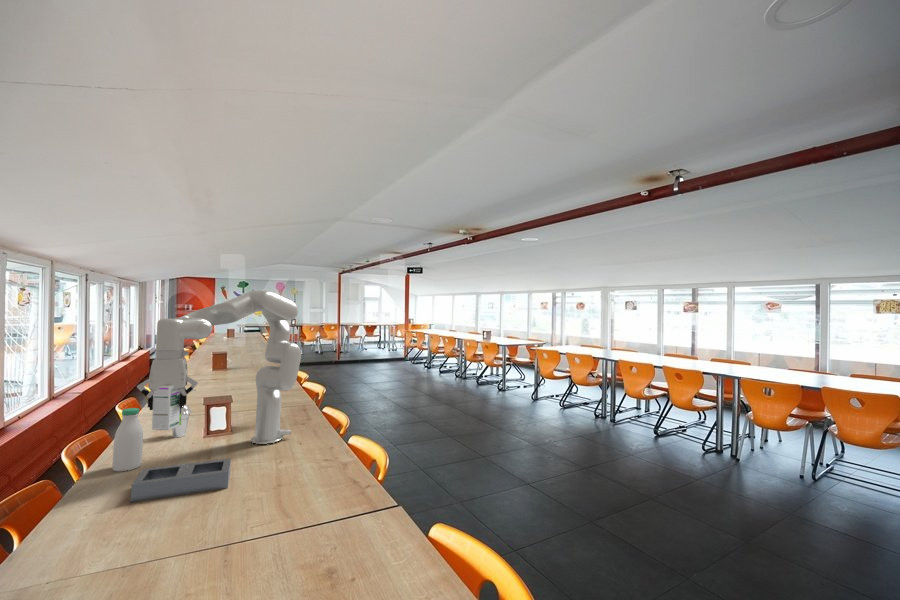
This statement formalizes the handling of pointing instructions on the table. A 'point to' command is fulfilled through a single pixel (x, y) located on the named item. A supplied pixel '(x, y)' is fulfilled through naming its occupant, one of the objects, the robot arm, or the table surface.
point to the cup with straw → (182, 422)
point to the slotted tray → (180, 479)
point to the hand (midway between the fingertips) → (167, 407)
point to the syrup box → (166, 408)
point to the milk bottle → (128, 442)
